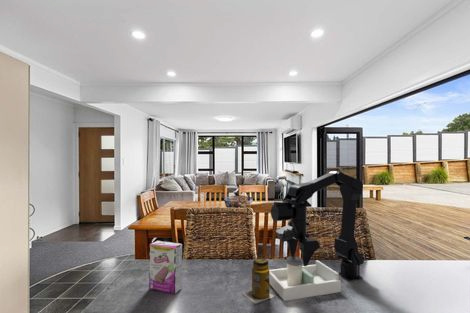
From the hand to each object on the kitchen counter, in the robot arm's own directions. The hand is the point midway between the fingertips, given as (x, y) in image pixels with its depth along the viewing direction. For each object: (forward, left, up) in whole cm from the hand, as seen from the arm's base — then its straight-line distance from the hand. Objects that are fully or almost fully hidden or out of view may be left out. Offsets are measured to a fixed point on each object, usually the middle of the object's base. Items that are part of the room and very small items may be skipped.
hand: (298, 261), depth 94 cm
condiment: (+17, +2, -10) cm, 19 cm away
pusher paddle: (-3, 0, -8) cm, 8 cm away
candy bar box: (+48, -11, -10) cm, 50 cm away
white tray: (-1, 0, -9) cm, 9 cm away
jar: (+2, 0, -8) cm, 8 cm away
